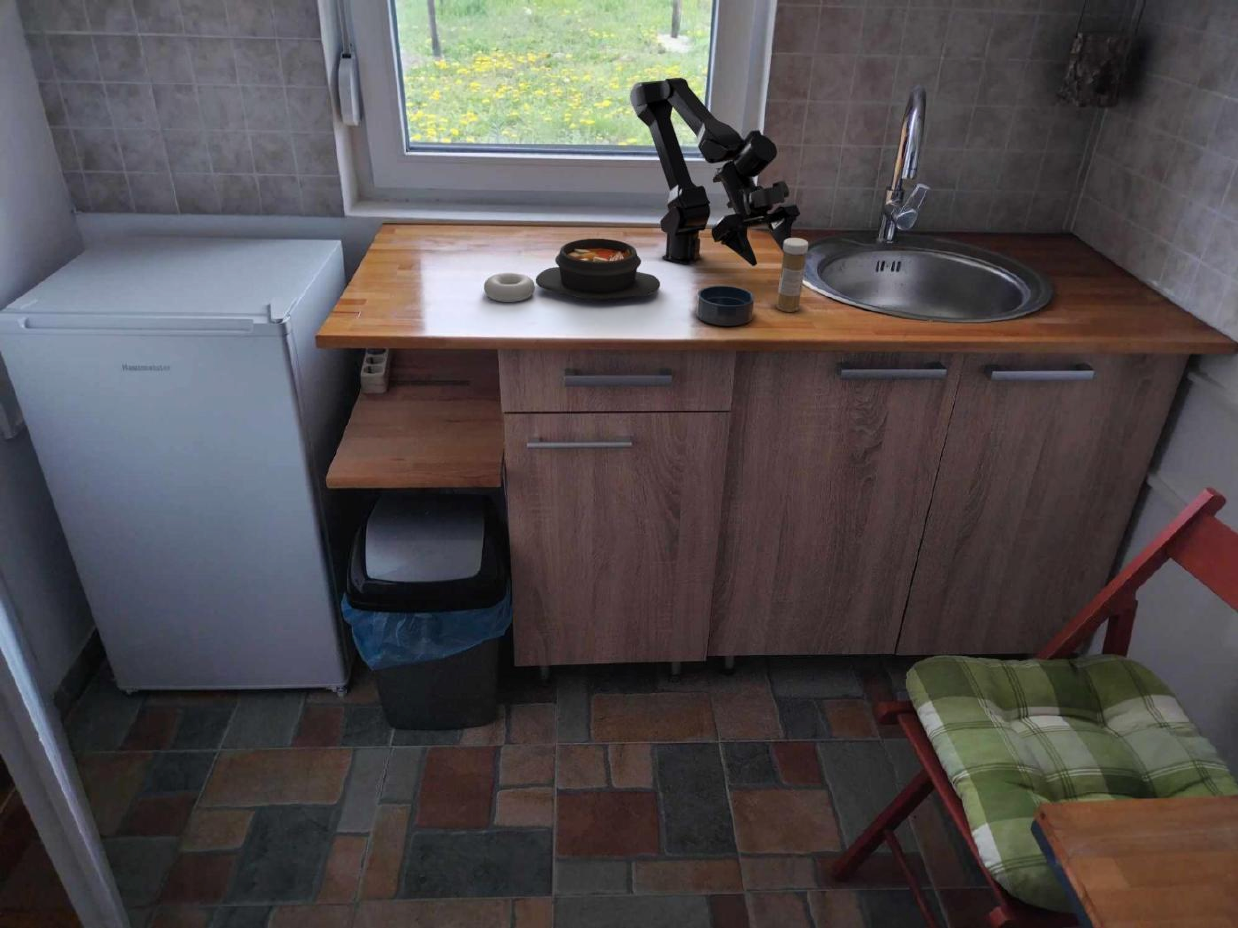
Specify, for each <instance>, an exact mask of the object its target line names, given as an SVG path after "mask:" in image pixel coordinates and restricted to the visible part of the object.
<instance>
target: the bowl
mask: <svg viewBox="0 0 1238 928" xmlns="http://www.w3.org/2000/svg"><path fill="white" fill-rule="evenodd" d="M696 296H697V297H696V309H695V314H696V315H695V316H696V317H697V318H698V319H700V321H702V322H705V323H707V324H710V325H715V326H721V327H735V326H736V327H737V326H742V325H745V324H748V323H749V322H751V320H752V319H753V317H754V315H753V314H754V306H755V295H754V293H752V292H751V291H749V289H748V290H747V289H746V288H742V287H739V286H734V285H724V284H723V285H710V286H707V287H706V286H705V287H702V288H701V289H700V290H698V292H697V295H696Z"/></svg>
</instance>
